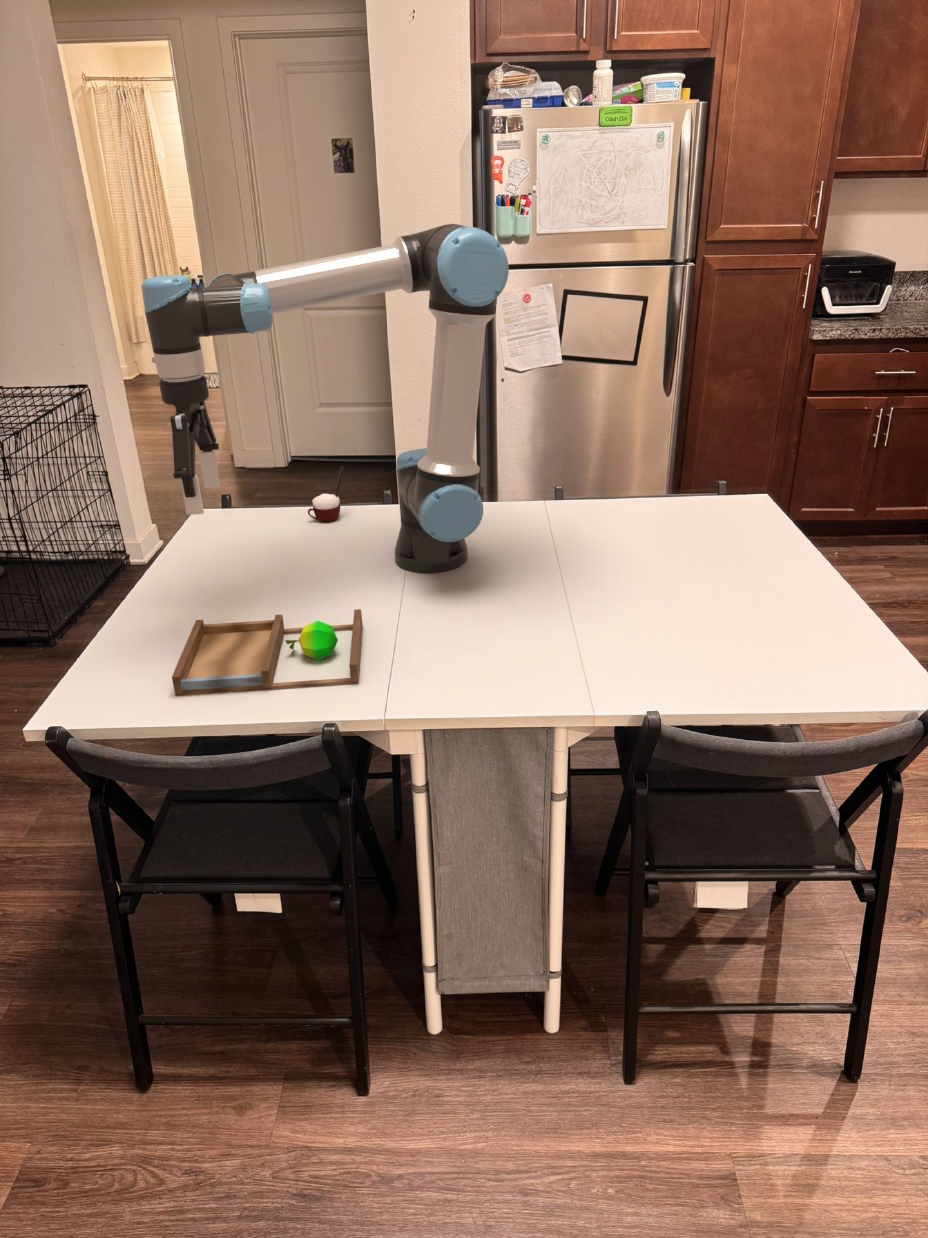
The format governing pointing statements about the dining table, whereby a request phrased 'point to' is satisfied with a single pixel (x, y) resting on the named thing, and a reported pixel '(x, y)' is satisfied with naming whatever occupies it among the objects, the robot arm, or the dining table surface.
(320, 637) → the apple
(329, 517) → the cocoa
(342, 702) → the dining table surface
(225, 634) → the frame
